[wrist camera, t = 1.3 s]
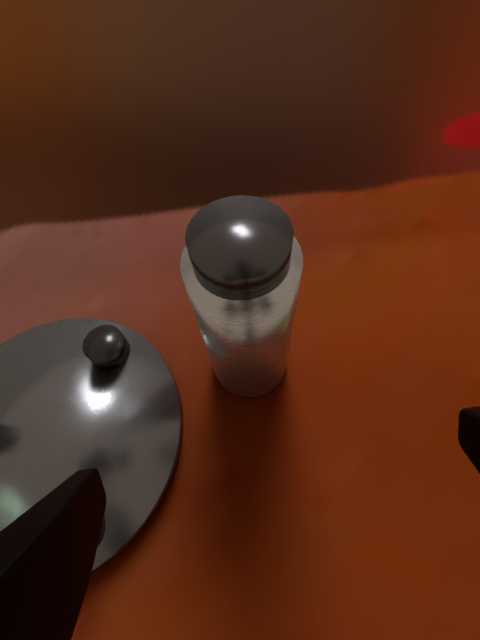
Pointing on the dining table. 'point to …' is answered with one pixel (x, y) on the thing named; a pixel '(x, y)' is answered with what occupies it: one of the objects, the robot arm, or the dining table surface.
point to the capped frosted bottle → (243, 289)
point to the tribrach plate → (88, 422)
